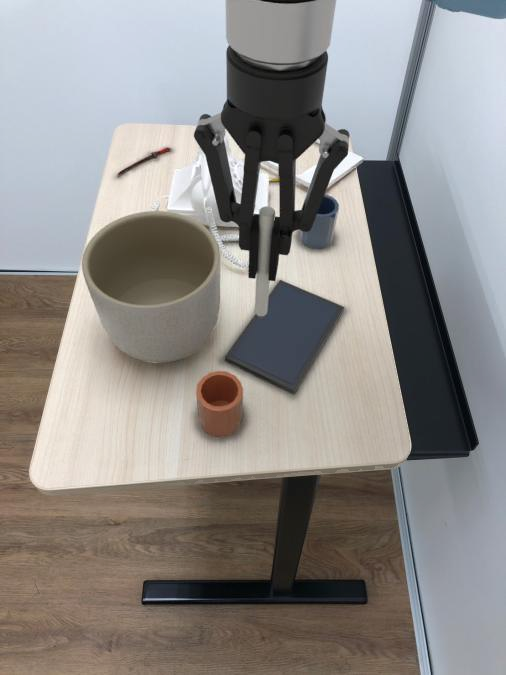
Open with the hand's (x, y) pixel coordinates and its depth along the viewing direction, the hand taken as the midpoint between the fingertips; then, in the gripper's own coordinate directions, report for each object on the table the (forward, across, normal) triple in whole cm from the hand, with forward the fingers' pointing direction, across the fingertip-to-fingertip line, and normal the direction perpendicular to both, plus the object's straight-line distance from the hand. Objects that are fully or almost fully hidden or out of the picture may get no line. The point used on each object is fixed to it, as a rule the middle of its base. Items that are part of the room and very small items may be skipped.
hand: (263, 270), depth 58 cm
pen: (+20, +3, -42) cm, 47 cm away
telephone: (+21, +13, -30) cm, 39 cm away
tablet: (+21, -3, -8) cm, 23 cm away
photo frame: (+20, -10, -45) cm, 50 cm away
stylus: (+8, 0, 0) cm, 8 cm away
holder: (+21, -6, -29) cm, 36 cm away
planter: (+21, +14, -5) cm, 26 cm away
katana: (+21, +31, -44) cm, 58 cm away
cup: (+21, +4, +7) cm, 23 cm away
